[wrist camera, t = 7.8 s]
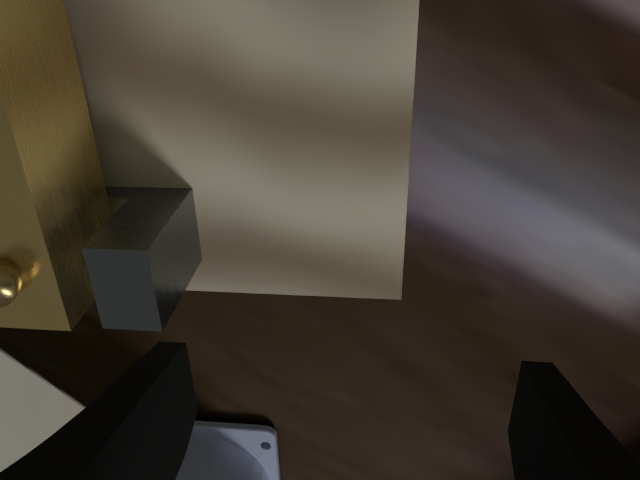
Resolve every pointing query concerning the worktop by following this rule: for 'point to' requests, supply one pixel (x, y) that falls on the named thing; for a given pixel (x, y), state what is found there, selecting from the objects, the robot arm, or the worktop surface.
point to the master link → (45, 171)
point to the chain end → (143, 256)
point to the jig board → (263, 131)
